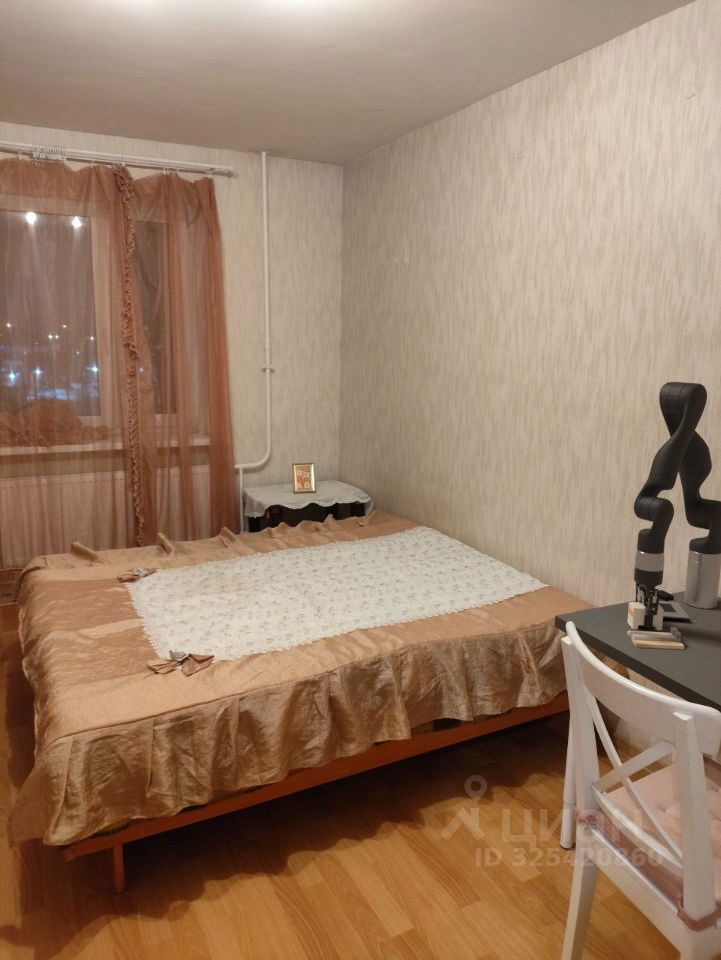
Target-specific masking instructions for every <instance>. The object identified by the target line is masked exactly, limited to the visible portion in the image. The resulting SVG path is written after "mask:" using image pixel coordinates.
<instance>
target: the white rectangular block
mask: <svg viewBox="0 0 721 960" xmlns="http://www.w3.org/2000/svg"><path fill="white" fill-rule="evenodd" d="M647 604H648V603H647ZM663 610H664V609H663V608H662V607H661V606H660V605H658V611H657V615H653V627H652V628H654V630H655V631H663V620H664V618H663ZM627 611H628V612H627V624H628V625H629V626H631V627H630V628H631V629H632V630H638V629H639V626H643V627H644V615H645V613H644V606H643V605H642V603H639V602H636V601H629V602H628V610H627ZM650 611H652V608H651V609H650Z"/></svg>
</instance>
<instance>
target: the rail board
mask: <svg viewBox="0 0 721 960" xmlns="http://www.w3.org/2000/svg"><path fill="white" fill-rule="evenodd" d="M626 634H627V636H628V637H629V639H630V640H631V642H632V644H633V645H634V646H635V647H636V648H640V649H641V648H643V649H661V650H664V649H665V650H683V651H684V650H685V645H684V644H683V642H682V638H681V637H682V633H681V632H680V631H679V630H678V628H677V627H673V626H672V627H670V631H669V632H668V631H667V632H666V631H665V632H664V631H663V632H662V631H645V630H644V631H643V630H641V631H640V630H627V633H626Z"/></svg>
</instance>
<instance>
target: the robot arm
mask: <svg viewBox="0 0 721 960" xmlns="http://www.w3.org/2000/svg"><path fill="white" fill-rule="evenodd" d="M658 398H659V399H658V400H659V401H658V403H659V408H660V411H661V414H662V417H663V420H664V422H665V425H666V427H667V431H668V434H669V439H667V441H666V442H665V443H664V444H663V445H661V447H660V448H659V449H658V450H657V451H656V453H655V455H654V457H653V460H652V463H651V467H650V470H649V474H648V478H647V480H646V481H645V483H644V484H643V486H642V488H641V490H640V491H639V492H638V494H637V496H636V498H635V500H634V503H633V513H634V515H635V516H636V518H638V519H640V520H644V521H648V522H652V525H651V527H650V528H642V529H640V530H639V531H638V534H637V544H636V554H635V557H634V558H635V559H634V571H633V581H634V582H635V602H639V603H642V605H643V606H644V613H645V615H644V626H643V627H644V628H648V629H651V628H654V627H653V615H657V611H658V605H659V601H660V596H659V595H657V590H656V587H657V586H661V585H663V582H664V581H663V579H664V570H665V569H664V568H665V546H666V545H665V543H666V536H668V535H667V534H668V532H669V529H670V526H671V524H672V521H673V518H674V516H675V508H674V504H673V503H672V501H671V500H670V499H668V498H665V497H658V496H659V494H660V493H661V492H664V491H671V490H673V489H674V488H675V485H676V482H677V478H678V477H679V480H680V484H681V485H680V486H681V487H682V488H681V489H682V494H683V495H682V496H683V505H684V514H685V519H686V522H687V523H688V525H689V526H691V527H693V528H698V529H704V530H709V531H708V535H707V536H702V537H695V538H692V539H690V541H689V542H688V554H687V555H688V556H687V566H686V567H687V568H686V575H685V577H686V579H685V580H686V581H685V588H684V600H683V602H684V603H685V604H686V605H688V606H690V607H694V608H698V609H715V608H717V607H718V599H719V589H720V579H721V500H716V499H709V498H703V497H702V496H701V493H700V492H701V491H700V489H701V487H702V485H703V484H704V482H705V481H706V480H707V478H708V477H709V475H710V473H711V471H712V468H713V464H712V463H713V462H712V458H711V457H712V456H711V451H710V448H709V446H708V443H707V442H706V441H705V440H704V438H703V437H702V436H701V435H700V433H698V432H697V431H696V429H697V427H698V425H699V422H700V421H701V418H702V416H703V413H704V411H705V409H706V405H707V402H708V401H707V400H708V391H707V388H706V387H705V385H703V384H701V383H698V382H681V381H668V382H666V383H665V384H663V385H662V386H661V388H660V389H659V397H658ZM678 475H679V476H678ZM647 603H648V604H647ZM716 606H717V607H716ZM714 607H715V608H714ZM651 608H652V611H650V609H651Z"/></svg>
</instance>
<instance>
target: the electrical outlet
mask: <svg viewBox="0 0 721 960" xmlns="http://www.w3.org/2000/svg"><path fill="white" fill-rule="evenodd" d="M659 605H660V606H661V607H662V608H663V609H664V610H663V619H669V620H680V621H681V620H684V621H687V620H690V616H689V615H688V614H687V612H686V611H685V610H684V608H683V607H682V606H681V605H682V604H680V603H679V602H678V601H666V600H665V601H664V600H659Z"/></svg>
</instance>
